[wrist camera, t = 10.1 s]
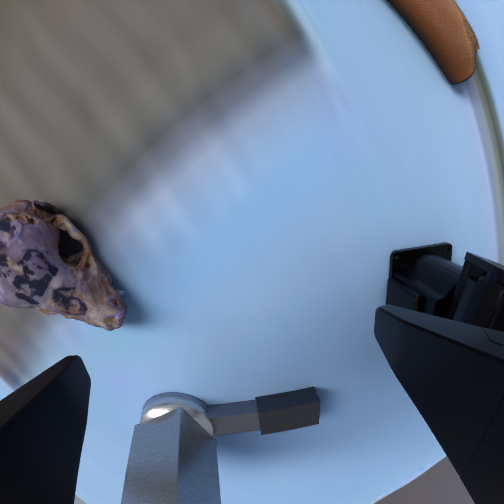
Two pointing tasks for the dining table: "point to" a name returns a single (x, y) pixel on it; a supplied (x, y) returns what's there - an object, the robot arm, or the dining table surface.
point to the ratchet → (243, 412)
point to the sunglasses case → (443, 34)
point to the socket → (172, 462)
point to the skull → (53, 268)
